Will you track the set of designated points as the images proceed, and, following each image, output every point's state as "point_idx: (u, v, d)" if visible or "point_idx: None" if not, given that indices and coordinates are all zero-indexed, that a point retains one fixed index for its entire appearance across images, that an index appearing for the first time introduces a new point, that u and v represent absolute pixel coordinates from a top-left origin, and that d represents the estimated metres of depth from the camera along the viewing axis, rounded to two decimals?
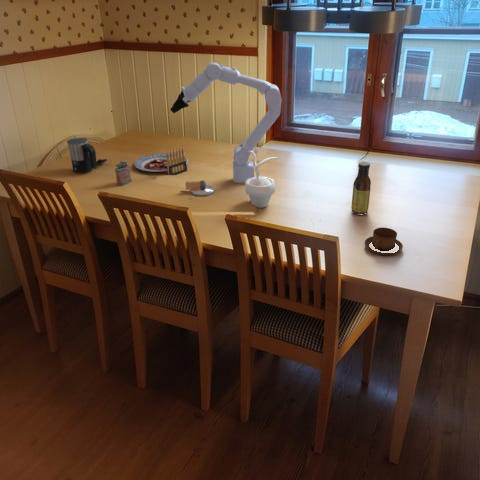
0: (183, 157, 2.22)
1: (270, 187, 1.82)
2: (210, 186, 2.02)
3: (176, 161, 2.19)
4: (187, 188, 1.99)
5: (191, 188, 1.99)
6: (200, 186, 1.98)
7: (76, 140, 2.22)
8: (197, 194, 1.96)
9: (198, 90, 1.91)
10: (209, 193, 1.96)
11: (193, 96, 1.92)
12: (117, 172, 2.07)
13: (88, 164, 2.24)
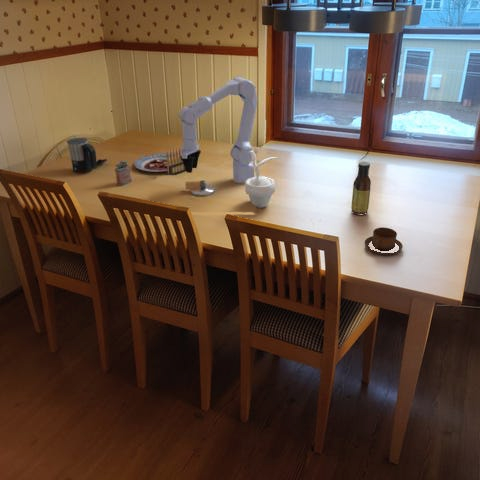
0: None
1: (270, 187, 1.82)
2: (210, 186, 2.02)
3: (176, 161, 2.19)
4: (187, 188, 1.99)
5: (191, 188, 1.99)
6: (200, 186, 1.98)
7: (76, 140, 2.22)
8: (197, 194, 1.96)
9: (190, 140, 1.90)
10: (209, 193, 1.96)
11: (191, 147, 1.92)
12: (117, 172, 2.07)
13: (88, 164, 2.24)
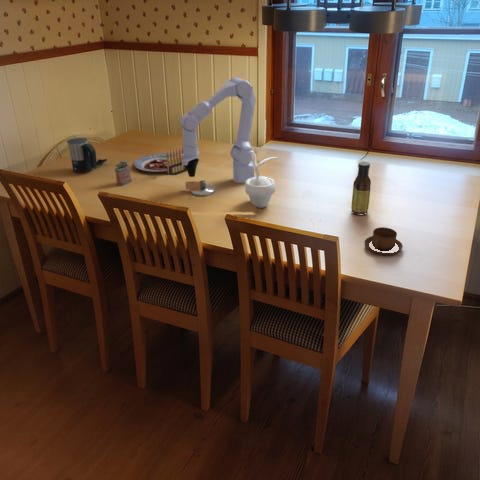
0: None
1: (270, 187, 1.82)
2: (210, 186, 2.02)
3: (176, 161, 2.19)
4: (187, 188, 1.99)
5: (191, 188, 1.99)
6: (200, 186, 1.98)
7: (76, 140, 2.22)
8: (197, 194, 1.96)
9: (190, 146, 1.92)
10: (209, 193, 1.96)
11: (192, 154, 1.93)
12: (117, 172, 2.07)
13: (88, 164, 2.24)
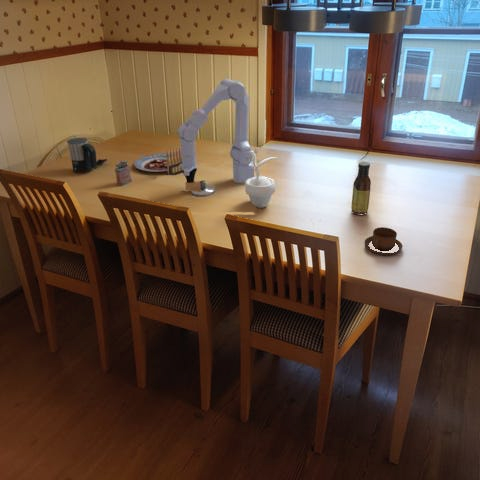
0: None
1: (270, 187, 1.82)
2: (210, 186, 2.02)
3: (176, 161, 2.19)
4: (187, 188, 1.98)
5: (191, 188, 1.99)
6: (200, 186, 1.98)
7: (76, 140, 2.22)
8: (198, 194, 1.96)
9: (190, 156, 1.91)
10: (209, 193, 1.96)
11: (192, 164, 1.93)
12: (117, 172, 2.07)
13: (88, 164, 2.25)
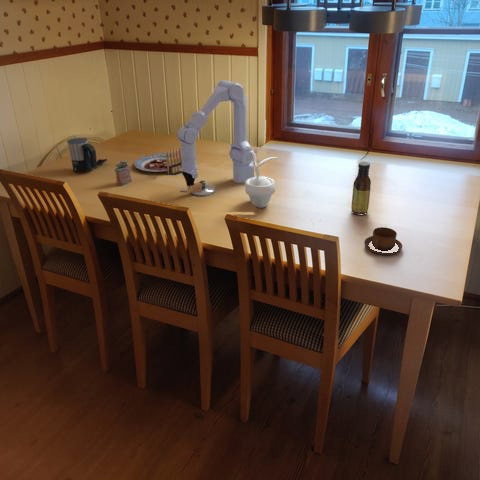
0: None
1: (270, 187, 1.82)
2: (205, 185, 2.03)
3: (176, 161, 2.19)
4: (191, 191, 1.95)
5: (194, 191, 1.96)
6: (202, 186, 1.98)
7: (76, 140, 2.22)
8: (205, 194, 1.96)
9: (193, 158, 1.89)
10: (214, 190, 1.99)
11: (194, 166, 1.91)
12: (117, 172, 2.07)
13: (88, 164, 2.25)
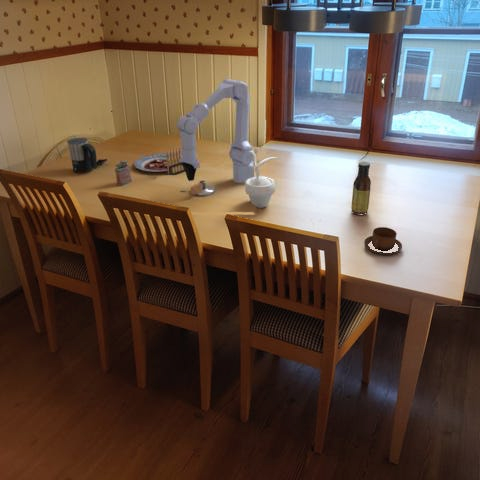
0: None
1: (270, 187, 1.82)
2: None
3: (176, 161, 2.19)
4: (195, 193, 1.94)
5: (197, 191, 1.95)
6: (203, 186, 1.98)
7: (76, 140, 2.22)
8: (209, 193, 1.96)
9: (194, 149, 1.86)
10: (214, 189, 2.00)
11: (195, 156, 1.88)
12: (117, 172, 2.07)
13: (88, 164, 2.25)
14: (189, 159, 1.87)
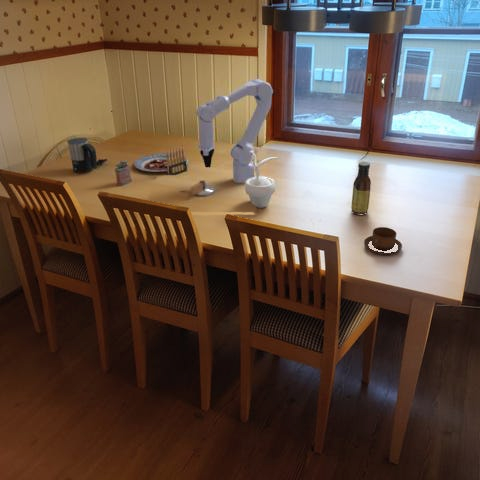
0: (183, 157, 2.22)
1: (270, 187, 1.82)
2: None
3: (176, 161, 2.19)
4: (195, 193, 1.94)
5: (197, 191, 1.95)
6: (203, 186, 1.98)
7: (76, 140, 2.22)
8: (209, 193, 1.96)
9: (209, 137, 1.94)
10: (214, 189, 2.00)
11: (210, 144, 1.95)
12: (117, 172, 2.07)
13: (88, 164, 2.25)
14: (203, 146, 1.96)
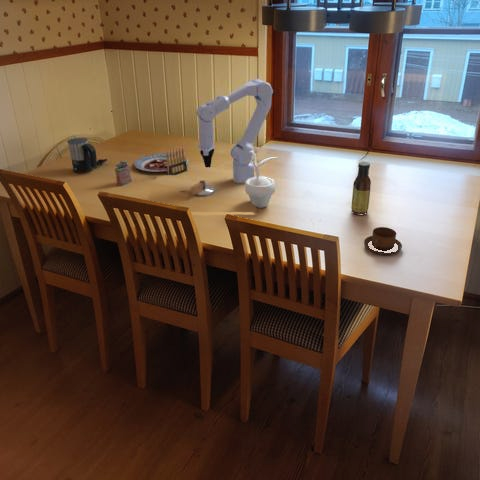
0: (183, 157, 2.22)
1: (270, 187, 1.82)
2: None
3: (176, 161, 2.19)
4: (195, 193, 1.94)
5: (197, 191, 1.95)
6: (203, 186, 1.98)
7: (76, 140, 2.22)
8: (209, 193, 1.96)
9: (209, 137, 1.94)
10: (214, 189, 2.00)
11: (210, 144, 1.95)
12: (117, 172, 2.07)
13: (88, 164, 2.25)
14: (203, 146, 1.96)
